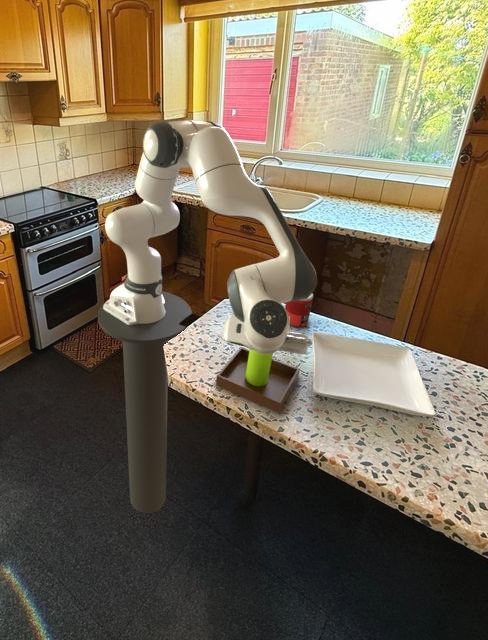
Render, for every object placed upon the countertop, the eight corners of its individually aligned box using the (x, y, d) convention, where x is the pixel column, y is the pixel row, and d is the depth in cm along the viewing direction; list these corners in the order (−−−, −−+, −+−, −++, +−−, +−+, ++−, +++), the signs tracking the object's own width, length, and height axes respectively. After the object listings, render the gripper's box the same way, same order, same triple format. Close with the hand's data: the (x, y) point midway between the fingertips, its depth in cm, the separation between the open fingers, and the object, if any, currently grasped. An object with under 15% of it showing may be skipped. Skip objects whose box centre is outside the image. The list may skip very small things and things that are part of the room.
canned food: (305, 330, 129) (310, 301, 124) (280, 323, 132) (285, 295, 127) (309, 319, 135) (315, 291, 130) (286, 313, 138) (290, 285, 133)
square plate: (309, 340, 124) (311, 330, 122) (407, 357, 117) (411, 346, 115) (310, 401, 101) (313, 389, 99) (433, 427, 93) (438, 415, 92)
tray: (215, 385, 106) (216, 375, 105) (239, 355, 117) (240, 346, 116) (278, 413, 97) (280, 403, 96) (298, 378, 108) (300, 369, 107)
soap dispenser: (265, 391, 103) (278, 327, 94) (241, 379, 106) (251, 316, 97) (274, 379, 107) (288, 316, 98) (250, 368, 111) (261, 307, 102)
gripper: (315, 327, 88) (306, 338, 101) (222, 313, 93) (225, 325, 106) (312, 356, 86) (303, 363, 99) (218, 339, 91) (221, 348, 104)
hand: (262, 343), depth 102 cm, fingers closed on soap dispenser, 6 cm apart
